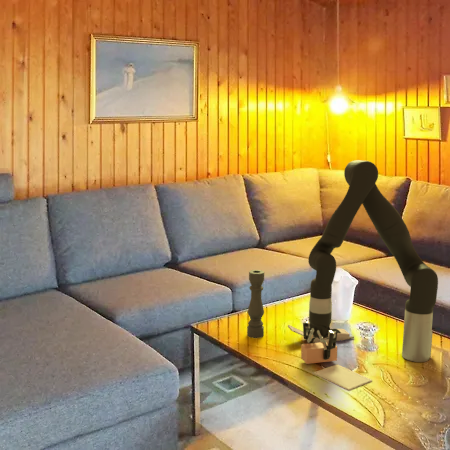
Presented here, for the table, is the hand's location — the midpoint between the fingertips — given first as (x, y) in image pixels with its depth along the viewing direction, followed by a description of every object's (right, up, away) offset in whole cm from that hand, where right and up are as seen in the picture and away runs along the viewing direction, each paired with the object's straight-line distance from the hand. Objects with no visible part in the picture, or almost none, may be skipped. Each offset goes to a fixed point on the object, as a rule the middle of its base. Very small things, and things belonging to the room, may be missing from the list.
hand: (318, 355), depth 214 cm
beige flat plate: (+6, -5, -11) cm, 13 cm away
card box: (0, -1, 0) cm, 1 cm away
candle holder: (-20, +2, +25) cm, 32 cm away
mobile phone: (+4, +1, +21) cm, 22 cm away
